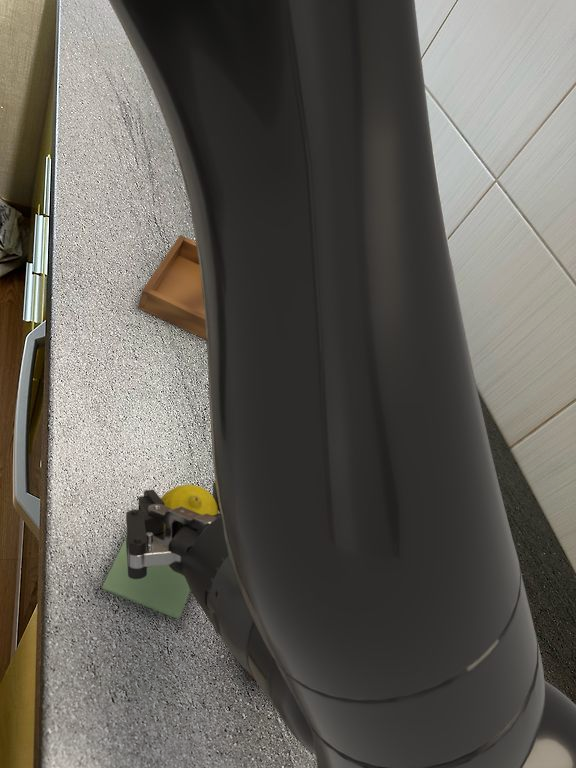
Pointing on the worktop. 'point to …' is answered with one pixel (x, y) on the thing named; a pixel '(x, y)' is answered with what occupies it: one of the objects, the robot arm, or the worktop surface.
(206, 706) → the worktop surface
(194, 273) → the crate
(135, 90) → the worktop surface
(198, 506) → the fruit
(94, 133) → the worktop surface
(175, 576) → the mat
